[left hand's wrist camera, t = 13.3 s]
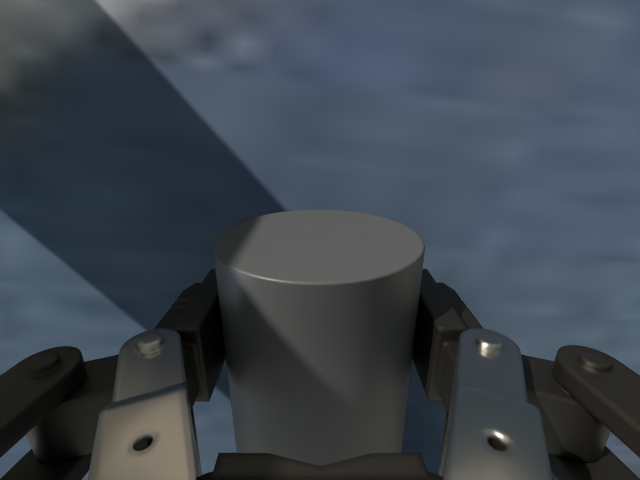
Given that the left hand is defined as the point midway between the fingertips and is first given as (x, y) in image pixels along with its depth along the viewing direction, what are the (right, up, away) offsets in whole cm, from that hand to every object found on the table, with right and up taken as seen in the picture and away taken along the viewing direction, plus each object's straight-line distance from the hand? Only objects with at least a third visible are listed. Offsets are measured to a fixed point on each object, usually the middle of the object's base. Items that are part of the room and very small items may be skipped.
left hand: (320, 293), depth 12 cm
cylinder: (0, -8, +5) cm, 9 cm away
